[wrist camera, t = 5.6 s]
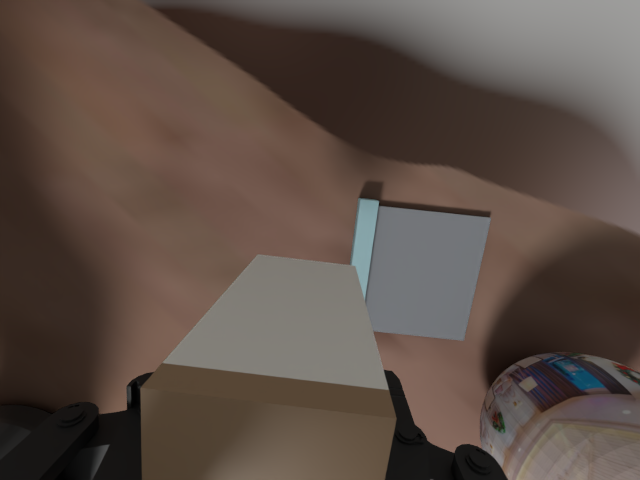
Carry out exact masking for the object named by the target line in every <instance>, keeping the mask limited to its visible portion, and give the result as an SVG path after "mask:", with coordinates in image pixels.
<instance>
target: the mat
mask: <svg viewBox="0 0 640 480" xmlns="http://www.w3.org/2000/svg"><path fill="white" fill-rule="evenodd" d="M490 221H491V218H489V217H482V216H472V215H463V214H453V213H444V212H435V211H425V210H416V209H406V208H397V207H387V206H378V212H377V219H376V226H375V233H374V240H373V247H372V254H371V261H370V268H369V275H368V282H367V289H366V296H365V303H366V307H367V311H368V315H369V318H370V322H371V326H372V329H373V331H377V332H386V333H396V334H405V335H415V336H424V337H434V338H443V339H453V340H463V341H464V337H465V333H466V328H467V324H468V319H469V315H470V310H471V306H472V301H473V297H474V292H475V288H476V283H477V279H478V274H479V270H480V265H481V261H482V256H483V252H484V247H485V243H486V238H487V234H488V230H489V225H490Z"/></svg>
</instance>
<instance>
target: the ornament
mask: <svg viewBox="0 0 640 480" xmlns="http://www.w3.org/2000/svg"><path fill="white" fill-rule="evenodd" d="M480 439H481V445H482V449H483V450H485V451H487V452H488V453H489V454H490V455H491V456H493V457H494V458H495V460H496V461H497V462H498V463H499V465H500V466H501V468H502V470H503V471H504V473H505V475H506V477H507V478H508V480H640V372H638V371H636V370H634V369H632V368H630V367H627V366H625V365H622V364H620V363H618V362H615V361H611V360H608V359H605V358H601V357H598V356H594V355H588V354H582V353H574V352H553V353H543V354H538V355H535V356H531V357H528V358H525V359H523V360H521V361H518V362H517V363H515V364H513V365H511V366H510V367H509V368H507V369H506V370H505V371H503V372H502V373H501V374H500V375H499V376H498V378H497V379H496V380H495V381H494V383H493V384H492V386H491V387H490V389H489V390H488V392H487V394H486V396H485V399H484V402H483V406H482V410H481V416H480Z"/></svg>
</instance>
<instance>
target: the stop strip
mask: <svg viewBox="0 0 640 480" xmlns="http://www.w3.org/2000/svg"><path fill="white" fill-rule="evenodd" d="M378 205H379V201H378V200H375V199H365V198H358V206H357V214H356V221H355V229H354V237H353V244H352V252H351V260H350V265H352V266H355V267H356V270H357V274H358V278H359V281H360V285H361V289H362V292H363V296H364V300H365V296H366V289H367V282H368V275H369V268H370V261H371V254H372V247H373V240H374V233H375V226H376V219H377V212H378Z"/></svg>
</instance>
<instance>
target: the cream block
mask: <svg viewBox="0 0 640 480" xmlns="http://www.w3.org/2000/svg"><path fill="white" fill-rule="evenodd" d="M140 393H141V455H142V480H385V476H386V471H387V466H388V461H389V456H390V450H391V445H392V440H393V435H394V430H395V425H396V420H397V418H396V414H395V411H394V407H393V403H392V399H391V396H390V392H389V388H388V385H387V381H386V377H385V374H384V370H383V366H382V363H381V359H380V355H379V351H378V348H377V344H376V340H375V337H374V333H373V329H372V326H371V322H370V318H369V315H368V311H367V307H366V303H365V300H364V296H363V292H362V289H361V285H360V281H359V278H358V274H357V270H356V267H355V266H352V265H344V264H335V263H327V262H318V261H309V260H301V259H292V258H284V257H275V256H267V255H257V256H256V257H255V258H254V259H253V261H252V262H251V263H250V264H249V265H248V266H247V267H246V268H245V270H244V271H243V272H242V273H241V274H240V275H239V276H238V278H237V279H236V280H235V281H234V282H233V283H232V284H231V286H230V287H229V288H228V289H227V290H226V291H225V292H224V293H223V295H222V296H221V297H220V298H219V299H218V300H217V301H216V303H215V304H214V305H213V306H212V307H211V308H210V309H209V311H208V312H207V313H206V314H205V315H204V316H203V317H202V318H201V320H200V321H199V322H198V323H197V324H196V325H195V326H194V328H193V329H192V330H191V331H190V332H189V333H188V334H187V335H186V337H185V338H184V339H183V340H182V341H181V342H180V343H179V345H178V346H177V347H176V348H175V349H174V350H173V351H172V353H171V354H170V355H169V356H168V357H167V358H166V359H165V360H164V362H163V363H162V364H161V365H160V366H159V367H158V368H157V370H156V371H155V372H154V373H153V374H152V375H151V376H150V378H149V379H148V380H147V381H146V382H145V383H144V384H143V385H142V387H141V388H140Z"/></svg>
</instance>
